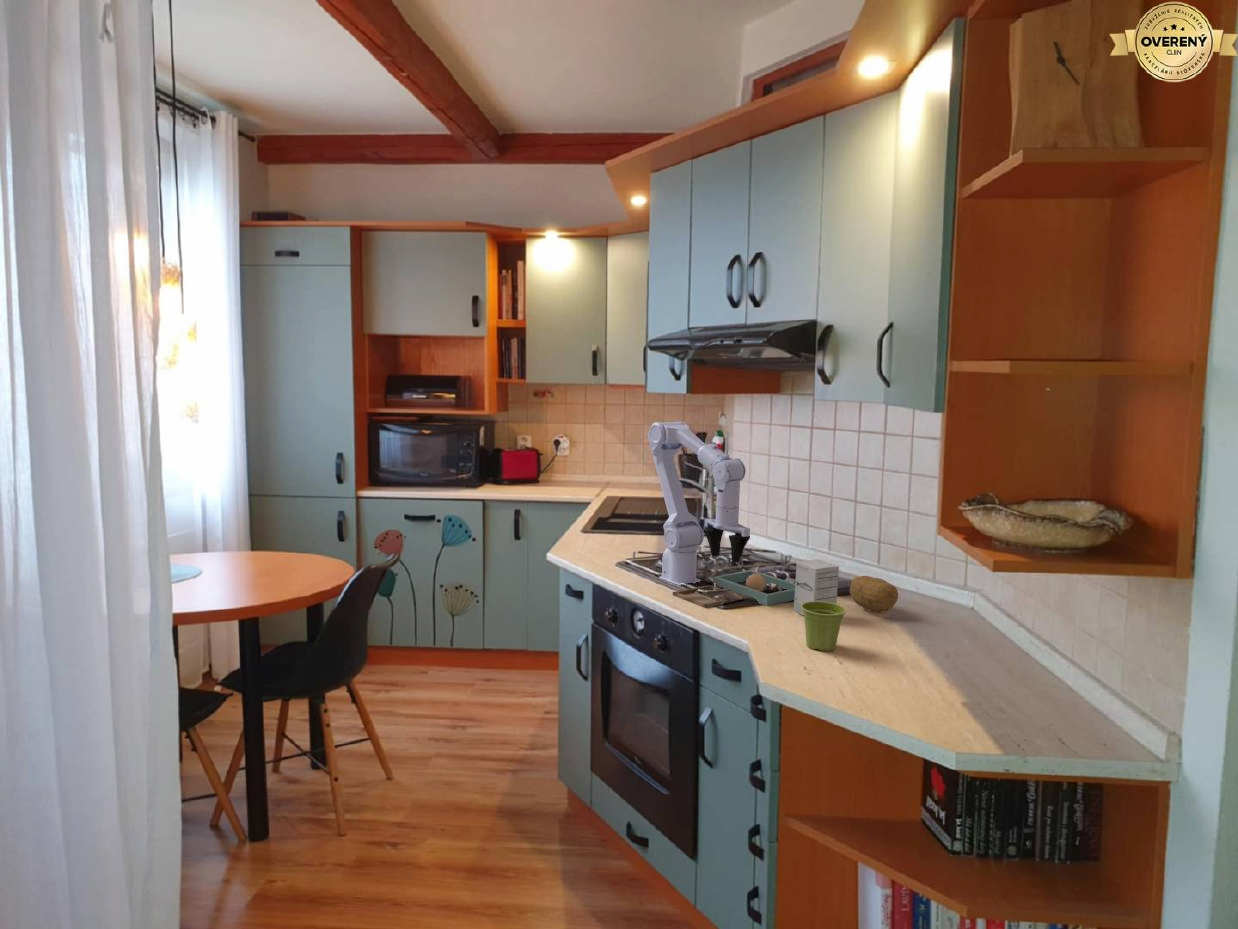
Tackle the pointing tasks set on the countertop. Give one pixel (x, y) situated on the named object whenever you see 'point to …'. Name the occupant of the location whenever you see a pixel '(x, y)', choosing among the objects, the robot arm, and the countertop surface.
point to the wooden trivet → (697, 597)
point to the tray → (766, 599)
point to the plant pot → (822, 624)
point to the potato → (873, 593)
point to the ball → (755, 582)
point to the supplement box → (815, 582)
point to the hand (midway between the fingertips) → (725, 558)
